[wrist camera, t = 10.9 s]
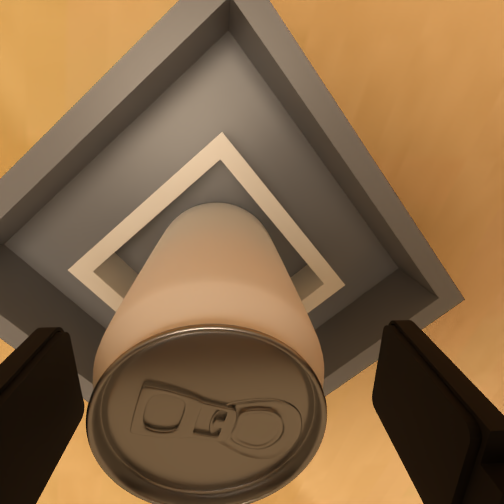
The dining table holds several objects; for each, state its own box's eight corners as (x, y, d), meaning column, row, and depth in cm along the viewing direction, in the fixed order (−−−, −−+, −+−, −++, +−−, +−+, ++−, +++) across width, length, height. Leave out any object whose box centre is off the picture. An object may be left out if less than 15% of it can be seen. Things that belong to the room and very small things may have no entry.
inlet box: (411, 263, 21) (464, 299, 17) (204, 415, 24) (199, 483, 19) (230, 2, 16) (233, -55, 11) (-13, 237, 19) (-92, 271, 14)
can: (252, 316, 21) (290, 536, 9) (148, 291, 19) (46, 506, 8) (288, 219, 19) (390, 347, 7) (175, 185, 17) (91, 272, 6)
